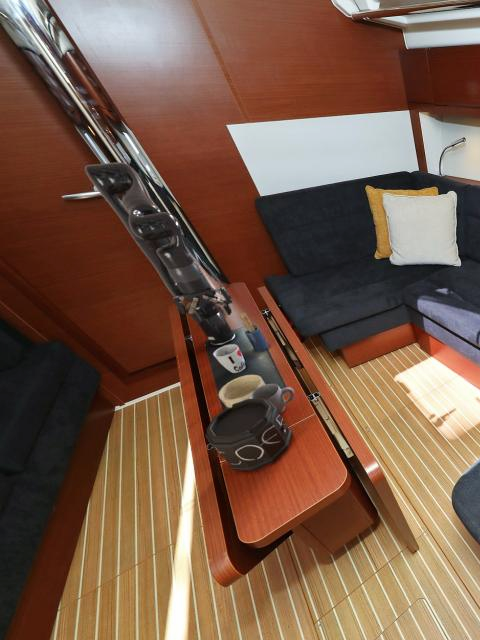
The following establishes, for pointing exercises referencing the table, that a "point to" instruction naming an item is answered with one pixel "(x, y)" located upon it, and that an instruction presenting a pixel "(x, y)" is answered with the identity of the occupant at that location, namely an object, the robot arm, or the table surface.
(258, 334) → the crock
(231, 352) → the cup
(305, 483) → the table surface
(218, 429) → the dark octagonal canister
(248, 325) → the stick
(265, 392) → the mug
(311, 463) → the table surface
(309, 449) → the table surface
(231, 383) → the bowl
